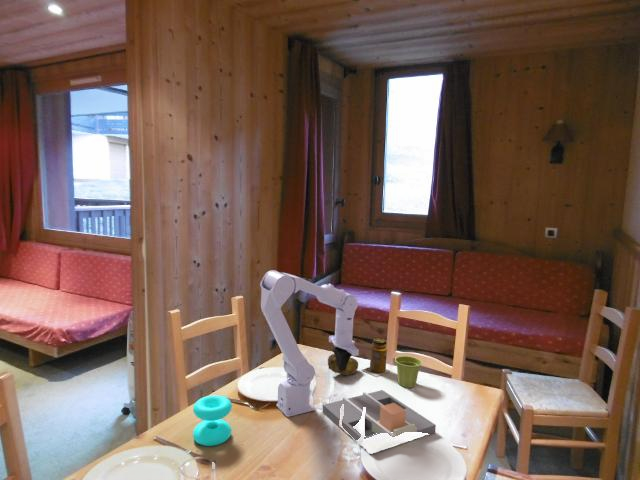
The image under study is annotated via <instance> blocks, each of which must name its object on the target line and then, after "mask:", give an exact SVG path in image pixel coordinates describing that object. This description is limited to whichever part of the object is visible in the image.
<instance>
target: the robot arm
mask: <svg viewBox="0 0 640 480" xmlns="http://www.w3.org/2000/svg"><path fill="white" fill-rule="evenodd" d="M259 286H260V290H261V292H260V293H261V294H260V295H261V296H260V309H261V312H262V314H263V316H264V318H265V319H266V322H267V324H268V326H269V329H270V330H271V333H272V335H273V337H274V339H275V341H276V343H277V344H278V347H279V349H280V351H281V353H282V357H281V358H282V361H283V369H284V371H285V373H286V380H285V381H283V382H281V383H279V385H278V387H277V403H276V407H277V408H278V409H279V410H280V412H281V413H283V414H284V416H285V417H287V418H289V417H294V416H297V415H300V414H304V413H308V412H313V411H316V410H315V409H316V408H315V407H313V405H311V403H310V397H311V396H310V394H311V393H310V392H311V382H312V381H313V380H314V377H315V376H316V370H315V367H314V366H313V365H312V364H310V363H309V361H308V360H307V358H306V357H305V355H304V354H303V353H302V351H301V349H300V348H299V345H298V344H297V341H296V339H295V337H294V335H293V332H292V330H291V328H290V326H289V324H288V322H287V319H286V317H285V315H284V313H283V311H282V307H283V305H284V304H285V303H286V302H287V300H288V299H289V298H290V296H291V295H293V293H294V294H296V293H298V292H299V291H301V292H305V293H307V294H311V295H314V296H316V299H317V301H318V302H319V303H322V304H325V305H328V306H330V307H332V308H335V327H334V330H335V331H334V335H329V336H328V342H329V343H332V344H333V345H334V347H332V350H331V351H332V352H333V354H335V357H336V360H337V365H338V370H340V371H343V370H346V367H347V364H348V361H349V359H350V358H352V357H357V356H359V355H360V353H359V352H360V349H359V348H357V346H355V343H356V342H355V340H353V333H354V332H353V331H354V318H355V317H354V316H355V314H356V313H355V312H356V310H357V308H358V306H359V302H358V301H357V297H356V296H355V295H354V294H351V293H348V292H346V290H344V289H341V288H340V289H338V288H337V287H335V285H334V284H331V283H328V284H327V283H325V284H322V285H317V284H315V283H313V282H311V281H308V280H306V279H304V278H302V277H300V276H296V275H294V274H291V273H287V272H283V271H281V272H280V271H277V270H275V269H272V270H269V271H267V272H266V273H265V274H264V276H263V277H262V280H261V281H260V284H259Z"/></svg>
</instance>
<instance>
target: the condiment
mask: <svg viewBox="0 0 640 480" xmlns="http://www.w3.org/2000/svg"><path fill="white" fill-rule="evenodd" d="M387 352H388V348H387V340H386V339H385V338H380V337H379V338H373V339H372V344H371V346H370V357H369V358H370V361H369V366H368V367H365V368H363V369H361V371H363V372H364V373H367V374H369V375H372V376H374V377H376V378H377V377H379V376H382V375H385V374H386V373H389V372H390V371H391V370H389V369H387Z"/></svg>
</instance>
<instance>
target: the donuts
mask: <svg viewBox="0 0 640 480" xmlns="http://www.w3.org/2000/svg"><path fill="white" fill-rule="evenodd" d="M232 404H233V403H232V402H231V400H230V398H227V397H226V396H223V395H217V394H216V395H215V394H213V395H207V396H203V397H201V398H199V399H198V400H197V401H196V402H195V403H194V404H193V410H192V411H193V413H194V415H195V416H196V418H198V419H200V420H201V422H199V423H198V424H197V425H196V426H195V427H194V429H193V431H192V437H193V439H194V441H195V442H196V443H197V444H198V445H199V444H200V445H201V446H206V447H213V446H218V445H221V444H223V443H225V442H226V441H227V440H228V439H229V438H230V437H231V435H232V427H231V425H230V424H229V423H228V421H226V420H223V419H224V418H225V417H227V416H228V415H230V413H231V411H232V407H233V405H232Z"/></svg>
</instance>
